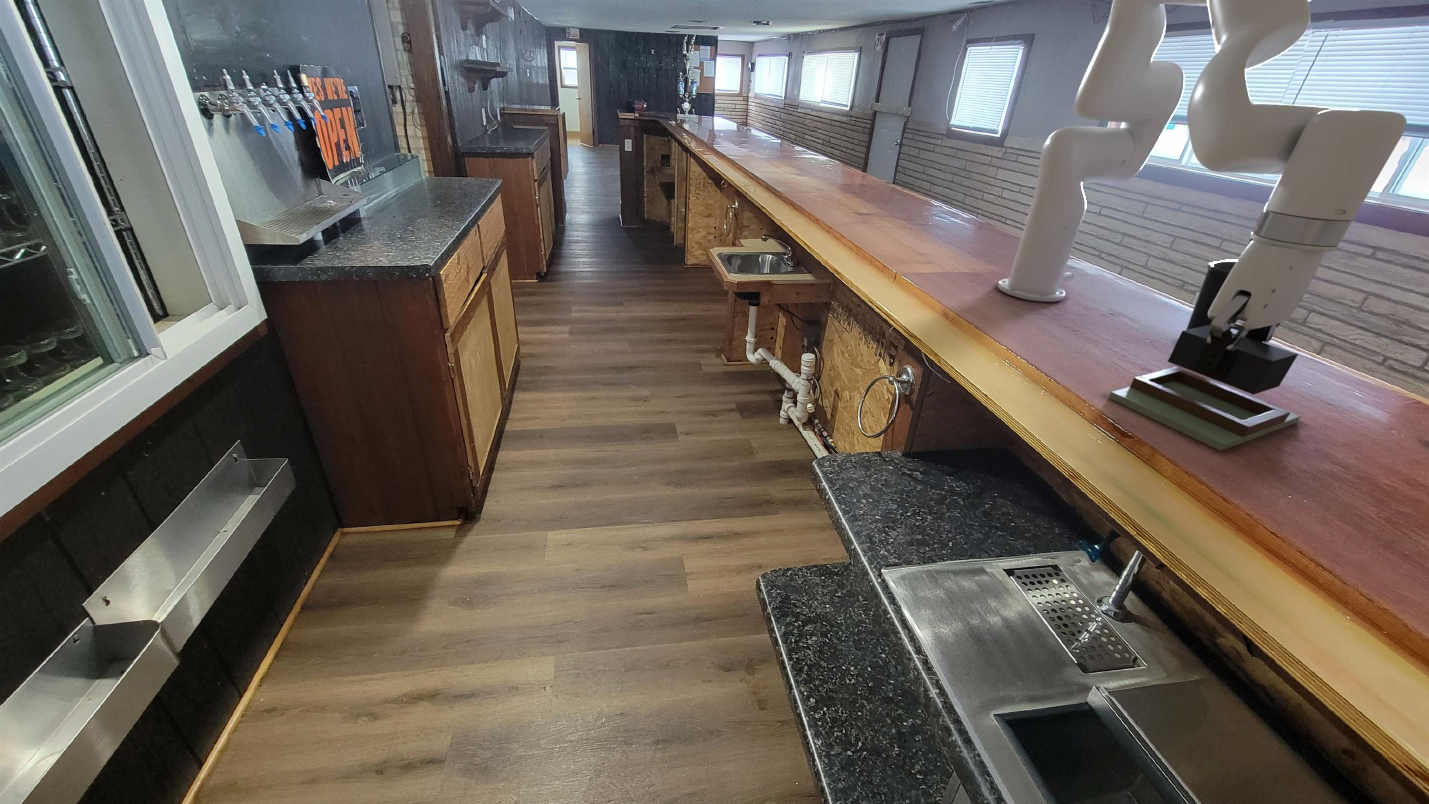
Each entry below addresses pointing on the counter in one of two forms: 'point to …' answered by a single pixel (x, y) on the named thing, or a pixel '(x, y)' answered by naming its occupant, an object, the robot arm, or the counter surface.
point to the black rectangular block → (1237, 361)
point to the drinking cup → (1210, 292)
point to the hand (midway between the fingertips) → (1222, 370)
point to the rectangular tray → (1202, 408)
